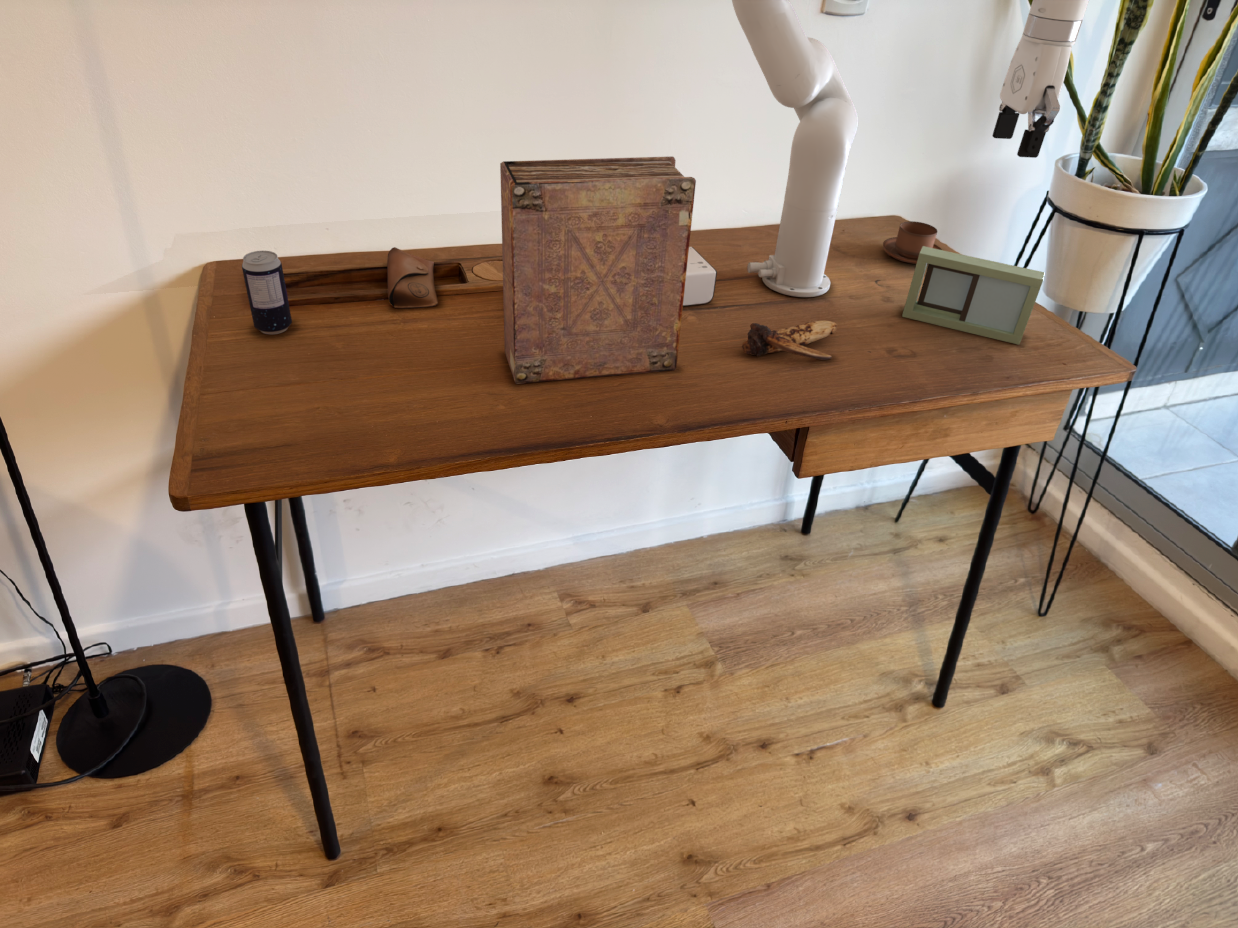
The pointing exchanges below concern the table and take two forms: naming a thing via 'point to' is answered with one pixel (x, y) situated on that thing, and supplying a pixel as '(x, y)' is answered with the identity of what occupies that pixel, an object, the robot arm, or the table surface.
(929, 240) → the cup and saucer
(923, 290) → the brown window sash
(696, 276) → the laminator
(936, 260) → the window frame
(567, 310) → the book
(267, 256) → the beverage can
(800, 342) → the bone fish hook
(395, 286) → the sunglasses case
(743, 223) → the table surface
